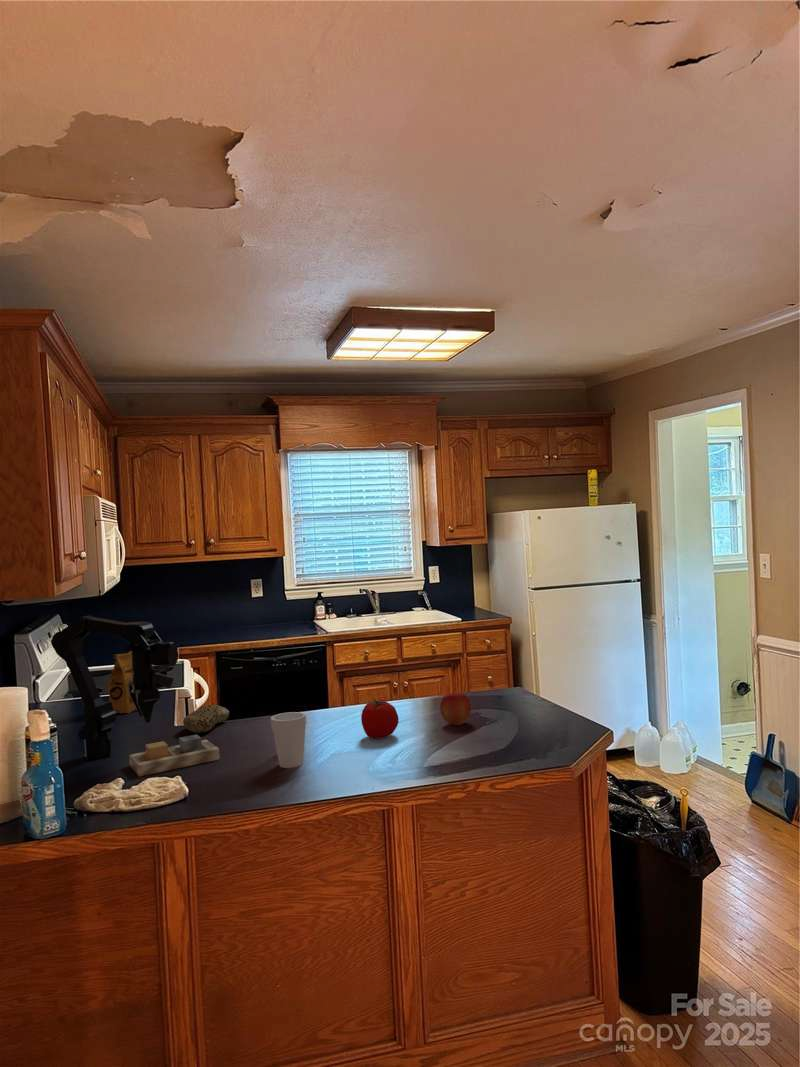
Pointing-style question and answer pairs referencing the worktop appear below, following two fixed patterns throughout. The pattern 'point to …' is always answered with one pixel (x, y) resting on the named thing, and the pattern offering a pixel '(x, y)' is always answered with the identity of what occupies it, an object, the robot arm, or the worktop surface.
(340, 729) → the worktop surface
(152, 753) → the block
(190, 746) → the puzzle frame
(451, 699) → the apple
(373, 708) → the red fruit
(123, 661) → the coffee package
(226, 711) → the speckled rock
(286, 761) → the foam cup
